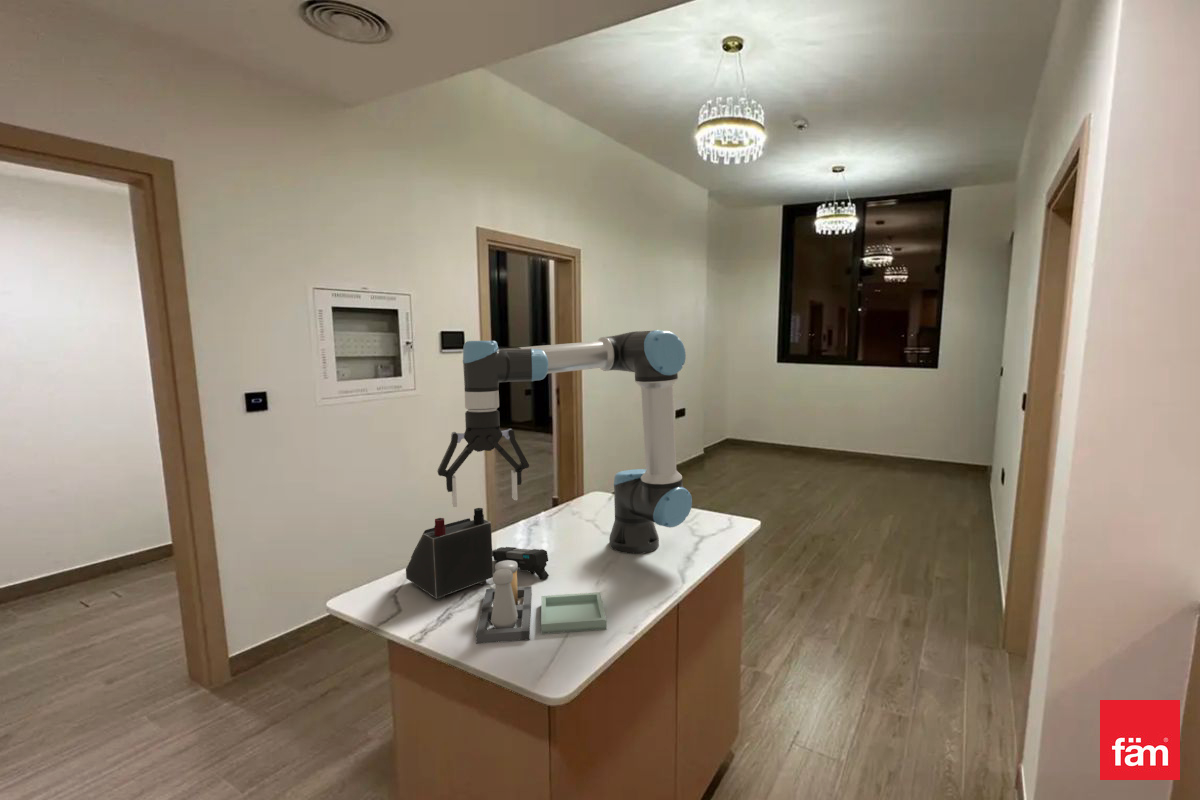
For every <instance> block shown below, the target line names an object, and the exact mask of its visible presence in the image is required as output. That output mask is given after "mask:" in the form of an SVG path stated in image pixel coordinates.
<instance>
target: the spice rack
mask: <svg viewBox="0 0 1200 800" xmlns="http://www.w3.org/2000/svg"><path fill="white" fill-rule="evenodd" d="M499 569H509V570H510V571H512V573H513V580H512V582H511V587H512V591H513V596H514V600H515V605H516V609H517V614H518V618H517V620H518V619H521V625H520V626H521V627H514V628H503V629H495V628H494V629H492V628H491V629H488V628H489V627H488V626H489V622H490V621H491V615H492V609H493V602H494V594H495V588H486V589H485V594H484V598H483V602H482V605H481V610H480V614H479V617H478V618H479V619H478V623H477V627H476V632H475V644H477V645H478V644H495V643H506V642H507V643H508V642H518V641H519V642H520V641H529V640H530V641H531V639H530V638H531V637H530V636H531V635H530V634H531V615H532V595H533V593H532V591H533V590H532V586H530V585H529V586H518V569H519V568H518V565H517V562H516V561H512V560H505V561H500V562H496V563H495V566H494V572H495V571H497V570H499ZM519 599H523V603H522V604H519Z"/></svg>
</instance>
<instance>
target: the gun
mask: <svg viewBox="0 0 1200 800" xmlns="http://www.w3.org/2000/svg"><path fill="white" fill-rule="evenodd" d="M548 556H549V555H548V551H547V550H545V549H542V548H541V549H540V548H538V549H537V548H533V549H529V548H528V549H527V548H517V547H509V546H505V547H504V546H501V547H498V548H495V549H492V558H493V560H494V561H495V562H496V563H498V562H500V561H505V560H512V561H516V562H517V565H518V569H519V571H523V572H529V573H530V575H534V574H535V575H536V576H537V577H538V578H539V580H540V581H543V580H546V579H548V578H549V576H550V575H549V573H548V572H547V570H546V567H547V566H548V565H547V562H549V557H548Z"/></svg>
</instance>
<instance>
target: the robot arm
mask: <svg viewBox="0 0 1200 800" xmlns="http://www.w3.org/2000/svg"><path fill="white" fill-rule="evenodd" d="M462 349H463V351H462V352H463V353H462V364H463V366H462V367H463V380H464V383H463V385H464V408H465V409H466V410H467V411H465V413H464V414H465V415H464V417H465V421H464V422H465V430H464V433H462V432H461V433H459V432H456V431H453V432H451V434H450V435H451V436H450V443H449V445H448V447H447V449H446V452H445V454H444V456H443V457H442V460H441V462H440V464H439V466H438V468H437V470H436V471H437V474H438V476H439V477H444V478H445V479H446V481H445V483H446V491H447V493H450V492H451V501H452V502H451V503H452V507H453V508H457V507H458V502H457V500H458V499H457V478H456V475H455V474H456V472H457V471H458V469H460V467H461V466H462V465H463V463H464V462H465V461H466V459H468V457H469V456H470V455H471V454H472V453H473V452H474V451H475V452H477V453H478V452H479V453H481V452H483V451H487V452H491V451H492V450H494V449H495V450H496V451H497V452H498V453H499V454H500V455H501V456H502V457H503V458H504V459H505V460H506V461H507V462H508V463H509V464H510V466H512V467H513V468H514V469H511V470H510V471H511V473H510V474H511V498H512V499H513V500H514V501H518V486H520V485H521V486H522V472H523V471H524V470H525V469H529V467H530V464H529V462H528V460H527V458H526V457H525V454H524V453H523V451H522V449H521V447H520V445H519V444H518V442H517V440H516V437H515V436H516V435H515V431H514V430H513V428H511V427H510V428H507V429H505V430H501V426H500V425H501V424H500V423H501V422H500V421H501V419H500V410H499V409H498V408H500V394H499V389H500V388H499V385H500V383H508V382H510V383H511V382H513V383H514V382H535V381H541V380H544V379H545V378H546V377H547V375H548V374H556V373H566V372H575V371H583V370H593V369H600V370H602V371H604V372H606V371H607V372H608V371H620V372H621V371H622V372H629V373H634V382H635V383H636V384H637V385H638V386H639V387H640V389H641V390H640V391H641V394H640V395H641V409H642V425H643V426H642V427H643V445H644V446H643V447H644V448H643V449H644V465H645V468H637V469H626V470H621V471H619V472H616V474H615V475H614V479H613V493H614V495H613V496H614V500H613V501H614V521H613V524H612V528H611V531H610V534H609V538H608V539H609V540H608V541H609V543H608V544H609V547H610V549H612V550H613V551H616V552H619V553H623V554H631V555H632V554H634V555H636V554H637V555H638V554H646V553H650V552H653V551H655V550H656V549H658V548H659V547H660V538H659V534H658V531H657V529H656V525H657V526H662V527H666V528H675V527H678V526H679V525H682V523H684V522H685V521H686V519H687V518H688V517H689V515H690V512H691V511H692V506H693V498H692V494H691V493H690V492H689V490H688V489H687V488H685V487H684V486H683V482H684V481H683V475H682V474H681V473H680V472H679V471H678V469H677V455H676V454H677V453H676V451H677V450H676V433H675V431H676V430H675V412H674V410H675V409H674V394H673V393H674V390H673V389H674V388H673V386H674V384H675V383H676V382H677V381H678V380H679V376H678V373H679V372H680V371H681V370H682V369H683V366H684V365H685V363H686V359H687V358H686V356H687V355H686V349H685V346H684V342H683V341H682V340H681V338H680V337H678V336H677V334H676V333H674V332H672V331H669V330H662V329H655V330H641V331H640V330H639V331H629V332H625V333H621V334H620V333H619V334H615V335H610V336H603V337H599V338H598V339H597V340H594V341H582V342H572V343H571V342H570V343H558V344H557V343H556V344H546V345H545V344H544V345H533V346H520V347H510V348H499V346H498V342H497V341H496V340H467V341H465V342H464V344H463V348H462ZM503 437H504V438H505V440H508V442H509V443H510V445H511V447H512V449H513V451H514V453H515V455H516V456H517V458H518V460H519V462H520V463H518V462H516V460H514V458H513V457H512V456H511V455H510V453H508V452H507V451H506V449H504V448H503V447H502V445H500V444H499V441H501V438H503ZM463 439H464V440H465V441H466V443H467V444H466V445H465V447H464V448H463V450H462V451H461V453H460V454H459V455H458V456H457V458H456V459H455V460H454V461H453V462H452V464H451V465H450V466H449V464H450V461H451V459H452V457H453V454H454V453H455V451H456V449H457V446H458V444H459V443H461V441H463ZM448 466H449V467H448ZM447 468H448V469H447ZM655 524H656V525H655Z"/></svg>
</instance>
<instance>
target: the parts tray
mask: <svg viewBox="0 0 1200 800" xmlns="http://www.w3.org/2000/svg"><path fill="white" fill-rule="evenodd" d="M540 604H541V606H540V607H541V608H540V609H541V610H540V611H541V614H540V615H541V616H540V617H541V618H540V621H541V623H540V624H541V627H540V628H541V629H540V631H541V635H545V634H559V633H573V632H587V631H601V630H604V631H605V630H607V627H608V626H607V617H606V612H605V607H604V602H603V599H602V594H601V592H600V591H598V592H585V593H583V592H581V593H569V594H554V595H553V594H551V595H541V603H540Z"/></svg>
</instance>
